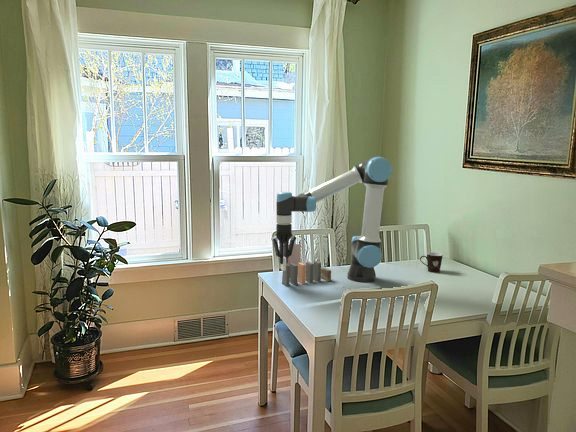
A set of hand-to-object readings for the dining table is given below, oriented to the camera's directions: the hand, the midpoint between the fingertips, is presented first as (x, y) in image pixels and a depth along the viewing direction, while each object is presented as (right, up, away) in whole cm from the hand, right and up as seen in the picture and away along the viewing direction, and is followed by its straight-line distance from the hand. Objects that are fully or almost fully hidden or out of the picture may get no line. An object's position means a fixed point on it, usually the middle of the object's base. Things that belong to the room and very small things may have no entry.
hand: (283, 270), depth 217 cm
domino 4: (+17, -7, +9) cm, 21 cm away
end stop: (+22, -7, +12) cm, 26 cm away
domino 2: (+5, -7, +4) cm, 10 cm away
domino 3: (+13, -7, +7) cm, 17 cm away
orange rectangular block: (+9, -7, +5) cm, 13 cm away
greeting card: (+5, -4, +27) cm, 27 cm away
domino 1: (+1, -8, +2) cm, 8 cm away
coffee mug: (+84, -5, +32) cm, 90 cm away
